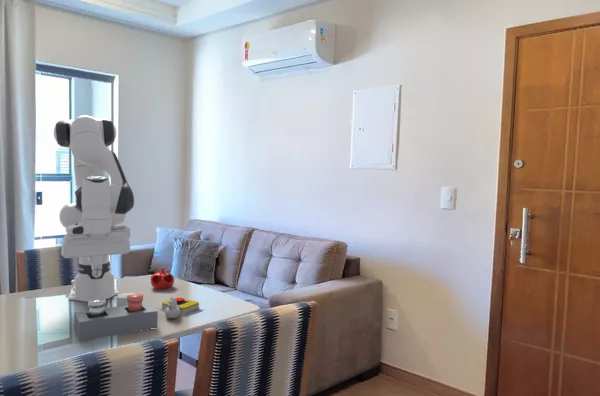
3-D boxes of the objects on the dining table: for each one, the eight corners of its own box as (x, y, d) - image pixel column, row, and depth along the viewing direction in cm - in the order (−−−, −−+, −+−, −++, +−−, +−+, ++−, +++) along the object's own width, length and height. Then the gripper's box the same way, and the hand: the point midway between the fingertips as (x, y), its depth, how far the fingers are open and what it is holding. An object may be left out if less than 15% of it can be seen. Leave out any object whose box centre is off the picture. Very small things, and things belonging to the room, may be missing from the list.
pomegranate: (151, 286, 212) (151, 265, 211) (174, 285, 214) (174, 264, 213) (149, 291, 202) (149, 270, 201) (174, 290, 204) (173, 269, 204)
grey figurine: (161, 319, 168) (161, 297, 167) (171, 313, 174) (171, 292, 173) (174, 321, 166) (174, 299, 166) (184, 315, 173) (184, 294, 172)
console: (74, 330, 155) (74, 312, 155) (148, 318, 168) (148, 302, 167) (79, 341, 146) (79, 322, 145) (157, 328, 159) (157, 311, 158)
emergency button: (175, 293, 187) (204, 299, 179) (175, 304, 187) (204, 311, 180) (157, 299, 179) (187, 306, 171) (157, 310, 179) (187, 317, 172)
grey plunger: (87, 314, 154) (86, 299, 154) (104, 312, 157) (104, 297, 156) (89, 319, 150) (89, 304, 149) (107, 316, 152) (107, 301, 152)
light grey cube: (134, 313, 174) (134, 297, 173) (116, 314, 172) (116, 298, 172) (134, 308, 179) (134, 292, 179) (117, 309, 178) (117, 293, 177)
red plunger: (125, 309, 160) (125, 295, 160) (141, 307, 163) (141, 293, 163) (128, 313, 156) (129, 298, 156) (144, 311, 159) (145, 296, 159)
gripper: (128, 224, 159) (128, 264, 160) (60, 227, 148) (60, 270, 149) (132, 226, 154) (132, 268, 155) (62, 229, 143) (63, 274, 144)
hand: (96, 269), depth 152 cm, fingers closed
